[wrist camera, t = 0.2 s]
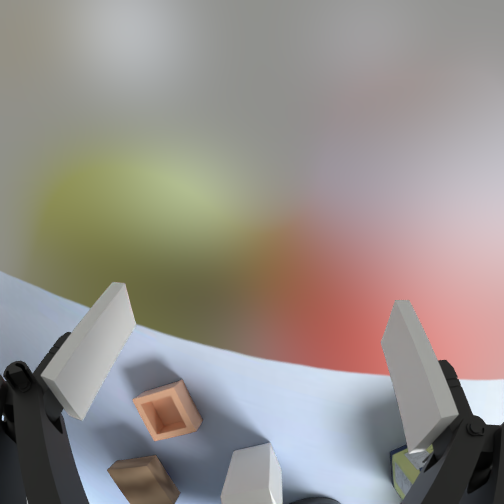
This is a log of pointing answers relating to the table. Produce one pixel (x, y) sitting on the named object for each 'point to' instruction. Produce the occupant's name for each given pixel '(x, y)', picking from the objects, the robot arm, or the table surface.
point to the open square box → (168, 411)
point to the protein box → (406, 468)
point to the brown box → (144, 481)
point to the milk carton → (253, 477)
